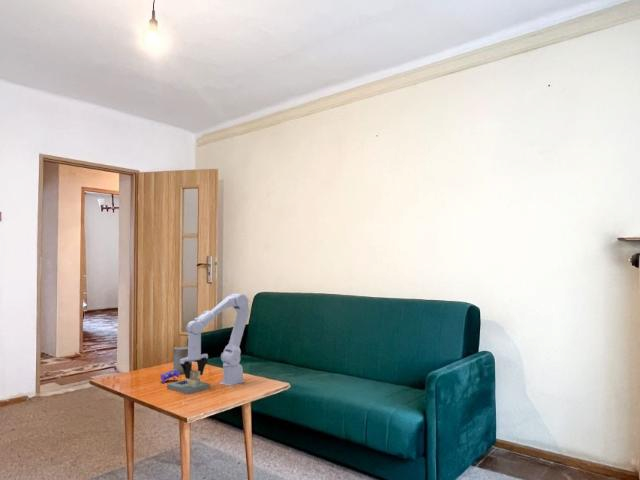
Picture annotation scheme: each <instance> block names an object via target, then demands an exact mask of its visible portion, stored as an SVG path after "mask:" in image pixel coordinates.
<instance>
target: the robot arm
mask: <svg viewBox="0 0 640 480" xmlns="http://www.w3.org/2000/svg"><path fill="white" fill-rule="evenodd" d="M231 307H232V308H233V309H234V310H235V311H236V316H235V317H236V318H235V321H234V324H233V328H232V331H231V334H230V339H229V340H228V344H227V345H225V346H224V347H225V348H224V349H223V352H221V354H220V360H221V362H222V381H221V382H219V384H220V385H225V386H235V385H237V384H241V383H245V381H244V373H243V372H244V369H243V365H242V364H241V363H240V362H241V359H242V358H241V353H242V351H241V348H240V346H241V342H242V338H243V336H244V331H245V328H246V324H247V320H248V317H249V312H250V309H249V299H248V297H247V295H246V294H244V293H235V292H232V293H230V294H229V295H227V296H225V298H224V299H222V300H221V301H220V302H219V303H218V304H216V306H214V307H213V308H212V309H211V310H204V311H202V313H201V314H200V315H199V316H197V317H195V318H194V320H190V321H189V322H188V323H187V325H186V327H185V330H186V331H187V346H188V356H187V357H185V358H182V359H180V363H181V366H182V368H183V370H184V373H185V374H184V377H185V379H189V378H190V369H191V365H192V366H193V363H192V364H190V363H189V362H191V361H192V362H195V361H196V364H197V371H200V376H203V374H204V370H205V368H206V364H207V363H208V358H209V355H208V353H202V346H201V345H202V336H201V335H202V333H203V330H204V329H205V328H206V327H207V326H208V325H209V324H211V323H212V322H213V321H215V319H216V318H215V317H216V316H217V315H219V314H220V313H222V312H223V311H225V309H228V308H231ZM201 353H202V354H201Z"/></svg>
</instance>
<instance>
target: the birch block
mask: <svg viewBox="0 0 640 480" xmlns="http://www.w3.org/2000/svg"><path fill="white" fill-rule="evenodd" d="M200 381H201V375H200V371H198V370H196V369H194V370H193V369H192V371H190V378H189V379H188V385H189V386H196V385H200Z"/></svg>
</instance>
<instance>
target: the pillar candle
mask: <svg viewBox="0 0 640 480" xmlns="http://www.w3.org/2000/svg"><path fill="white" fill-rule="evenodd" d="M187 356H188V345H180V346H175V347H173V369H177V371H178V374H179V376H182V375H185V373H184V370H183V368H182V366H181V363H180V359H182V358H185V357H187ZM189 363H190V364H192V365H191V369H190V371H193V361H191V362H189ZM178 369H179V370H180V371H179V370H178ZM180 373H181V374H180Z"/></svg>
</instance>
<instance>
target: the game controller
mask: <svg viewBox="0 0 640 480" xmlns="http://www.w3.org/2000/svg"><path fill="white" fill-rule="evenodd" d="M178 370H179V369H178ZM179 371H180V370H179ZM180 374H181V373H180ZM176 377H177V378H179V377H180V375H179V374H178V371H177V369H174V368H173V369H172V370H170V371H167V372H165V373H164V372H163V373H162V374H161V375H160V380H161V382H162V384H165V382H166V381H167V384H169V383H168V382H169V381H170V378H172V379H174V380H175V379H176ZM179 380H181V377H180V379H179ZM167 384H166V385H167Z"/></svg>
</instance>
